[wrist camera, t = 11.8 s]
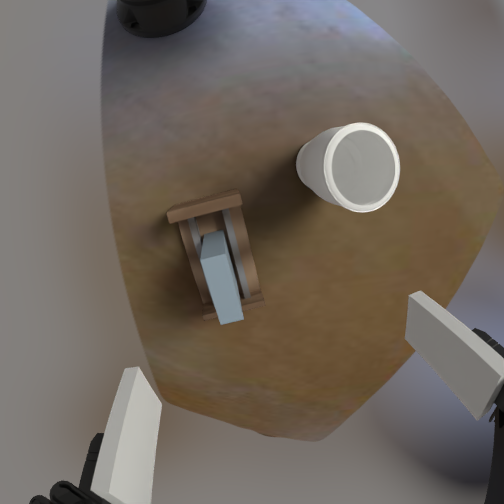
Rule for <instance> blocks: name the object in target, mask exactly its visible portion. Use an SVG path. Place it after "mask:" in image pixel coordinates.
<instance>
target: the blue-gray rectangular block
mask: <svg viewBox="0 0 504 504" xmlns="http://www.w3.org/2000/svg"><path fill="white" fill-rule="evenodd" d="M200 261H201V264H202V268H203V271H204V274H205V277H206V281H207V284H208V287H209V290H210V293H211V296H212V299H213V303H214V306H215V309H216V312H217V315H218V318H219V321H220V324H221V325H222V324H226V323H230V322H235V321H239V320H243V319H244V318H243V312H242V307H241V302H240V296H239V291H238V285H237V280H236V277H235V273H234V269H233V265H232V262H231V258H230V254H229V250H228V247H227V243H226V239H225V235H224V231H223V229H222V230H218V231H215V232H211V233H207V234H204V239H203V245H202V252H201V258H200Z"/></svg>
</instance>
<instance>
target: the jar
mask: <svg viewBox="0 0 504 504" xmlns="http://www.w3.org/2000/svg"><path fill="white" fill-rule="evenodd" d="M296 169H297V173H298V176H299V178H300V179H301V181H302V182H303V183H304V184H305V185H306V186H307V187H309V188H310V189H311V190H313V191H314V192H315V193H316V194H317V195H318V196H319V197H321V198H322V199H324V200H325V201H327V202H330V203H332V204H335V205H339V206H342V207H344V208H346V209H348V210H351V211H355V212H369V211H373V210H376V209H378V208H380V207H381V206H383V205H384V204H385V203H386V202H387V201H388V200H389V199H390V198H391V196H392V195H393V193H394V191H395V189H396V187H397V184H398V181H399V176H400V161H399V156H398V152H397V150H396V147H395V145H394V143H393V142H392V140H391V139H390V137H389V136H388V135H387V134H386V133H385V132H384V131H383V130H381V129H380V128H378V127H377V126H374V125H372V124H369V123H353V124H350V125H347V126H344V127H335V128H331V129H329V130H326V131H324V132H322V133H320V134H319V135H317V136H316V137H315V138H314V139H312V140H311V141H309V142H308V143H306V144H305V145H304V146H303V147H302V148H301V149H300V151H299V153H298V156H297V160H296Z"/></svg>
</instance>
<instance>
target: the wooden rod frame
mask: <svg viewBox="0 0 504 504" xmlns="http://www.w3.org/2000/svg"><path fill="white" fill-rule="evenodd" d="M241 205H243V203H242V199H241V195H240V193H239V191H238V190H237V189H233V190H229V191H225V192H221V193H217V194H214V195H210V196H206V197H202V198H198V199H195V200H191V201H187V202H184V203H180V204H176V205H174V206H173V207H172V208H171V209H170V210H169V211H168V212H167V213H166V214H167V217H168V221H169V224H170V223H174V222H178V225H179V229H180V232H181V236H182V239H183V242H184V246H185V249H186V252H187V256H188V259H189V262H190V265H191V268H192V271H193V275H194V278H195V281H196V284H197V287H198V290H199V293H200V296H201V299H202V302H203V313H202V316H203V319H204V321H205V320H210V319H214V318H218V315H217V312H216V309H215V306H214V303H213V299H212V296H211V293H210V290H209V287H208V284H207V281H206V277H205V274H204V271H203V268H202V264H201V261H200V258H201V252H202V245H203V239H204V234H207V233H211V232H215V231H218V230H222V229H223V231H224V235H225V239H226V243H227V247H228V250H229V254H230V258H231V262H232V265H233V269H234V273H235V277H236V280H237V285H238V291H239V296H240V302H241V307H242V312H243V311H247V310H251V309H255V308H259V307H262V306H266V305H265V301H264V298H263V295H262V292H261V289H260V285H259V281H258V276H257V272H256V268H255V264H254V259H253V255H252V251H251V247H250V243H249V238H248V234H247V230H246V226H245V221H244V217H243V213H242V209H241Z"/></svg>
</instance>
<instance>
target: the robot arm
mask: <svg viewBox="0 0 504 504" xmlns="http://www.w3.org/2000/svg"><path fill="white" fill-rule="evenodd" d="M206 1H207V0H117V16H118V19H119V21H120V23H121V24H122V25H123V27H124V28H125V29H126V30H127V31H128V32H130V33H131V34H133V35H136V36H140V37H147V38H154V37H162V36H166V35H170V34H173V33H176V32H178V31H180V30H182V29H184V28H186V27H187V26H189V25H190V24H192V23H193V22H194V21H195V20H196V19H197V18H198V17H199V16H200V15H201V13H202V12H203V10H204V8H205V5H206ZM405 339H406V340H407V341H408V342H409V344H410V345H411V346H412V347H413V348H414V349H415V350H416V351H417V352H418V353H419V354H420V355H421V356H422V358H423V359H424V360H425V361H426V362H427V363H428V364H429V365H430V366H431V368H432V369H433V370H434V371H435V372H436V373H437V374H438V375H439V377H440V378H441V379H442V380H443V381H444V382H445V383H446V385H447V386H448V387H449V388H450V389H451V390H452V391H453V393H454V394H455V395H456V396H457V397H458V398H459V400H460V401H461V402H462V403H463V404H464V405H465V407H466V408H467V409H468V410H469V411H470V413H471V414H472V415H473V416H474V417H475V419H476V420H479V419H480V418H481V417H483V416H484V415H485V414H486V413H488V412H489V410H490V409H491V407H492V405H493V403H495V404H496V405H497V407H496V409H495V410H494V412H493V414H492V415H491V417H490V419H489V422H491V421H492V419H493V418H494V416H495V420H494V422H495V433H494V448H493V457H492V465H491V472H490V478H489V484H488V489H487V495H486V499H485V503H484V504H504V348H503V347H502V346H501V345H500V344H498V342H496V341H495V340H493V339H492V338H491V337H490V336H489V335H488V334H487V333H485V332H483V331H481V330H479V329H476V328H475V329H473V330H470V329H469V328H468V327H466V326H465V325H464V324H463V323H461V322H460V321H459V320H458V319H456V318H455V317H454V316H453V315H452V314H450V313H449V312H448V311H447V310H445V309H444V308H443V307H441V306H440V305H439V304H438V303H436V302H435V301H434V300H432V299H431V298H430V297H428V296H427V295H426V294H424V293H423V292H422V291H418V292H416V293H413V294H411V295H409V301H408V314H407V324H406V334H405ZM161 408H162V404H161V402H160V401H159V399H158V398H157V396H156V395H155V393H154V391H153V390H152V388H151V386H150V385H149V383H148V381H147V380H146V378H145V377H144V375H143V373H142V371H141V370H140V368H139V367H132V368H125V370H124V373H123V376H122V379H121V381H120V385H119V388H118V391H117V394H116V397H115V400H114V403H113V406H112V409H111V413H110V416H109V419H108V423H107V427H106V430H105V433H97V434H96V436H95V437H94V438H93V440H92V441H91V443H90V447H89V450H88V454H87V458H86V461H85V465H84V468H83V472H82V476H81V480H80V484H79V488H77V487H76V486H74V485H73V484H72V483H70V482H68V481H59V482H57V483H56V484H55V485H53V487H52V488H51V490H50V500H51V501H50V500H49V499H47V498H46V497H44V496H42V495H37V496H35V497H33V498H32V499H31V501H30V503H29V504H151V495H152V483H153V472H154V463H155V454H156V445H157V437H158V429H159V421H160V415H161Z"/></svg>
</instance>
